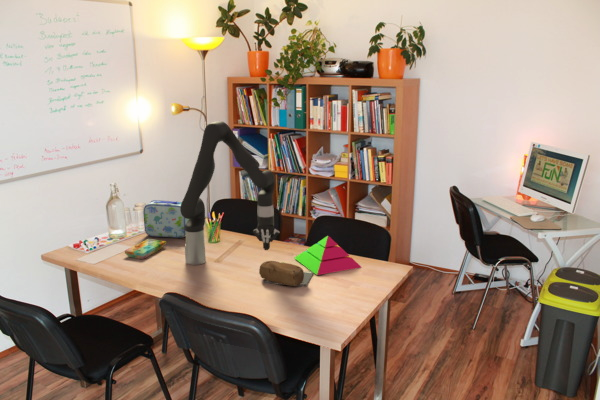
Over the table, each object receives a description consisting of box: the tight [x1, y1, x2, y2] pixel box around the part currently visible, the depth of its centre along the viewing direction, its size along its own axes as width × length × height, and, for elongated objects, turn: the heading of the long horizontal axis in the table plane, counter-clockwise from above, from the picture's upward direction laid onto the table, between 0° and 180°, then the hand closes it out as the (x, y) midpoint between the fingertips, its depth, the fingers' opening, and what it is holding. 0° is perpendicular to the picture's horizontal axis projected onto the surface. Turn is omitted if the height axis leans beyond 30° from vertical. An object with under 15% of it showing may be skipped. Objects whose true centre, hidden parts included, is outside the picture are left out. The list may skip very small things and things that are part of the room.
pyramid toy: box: [294, 235, 362, 276], centre depth 266 cm, size 25×25×14 cm
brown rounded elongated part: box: [258, 260, 304, 287], centre depth 245 cm, size 11×8×20 cm
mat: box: [263, 270, 314, 288], centre depth 250 cm, size 20×16×1 cm
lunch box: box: [143, 199, 189, 239], centre depth 308 cm, size 26×11×21 cm, turn 80°
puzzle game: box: [124, 238, 167, 260], centre depth 283 cm, size 12×5×20 cm
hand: (266, 249), depth 249 cm, fingers closed
